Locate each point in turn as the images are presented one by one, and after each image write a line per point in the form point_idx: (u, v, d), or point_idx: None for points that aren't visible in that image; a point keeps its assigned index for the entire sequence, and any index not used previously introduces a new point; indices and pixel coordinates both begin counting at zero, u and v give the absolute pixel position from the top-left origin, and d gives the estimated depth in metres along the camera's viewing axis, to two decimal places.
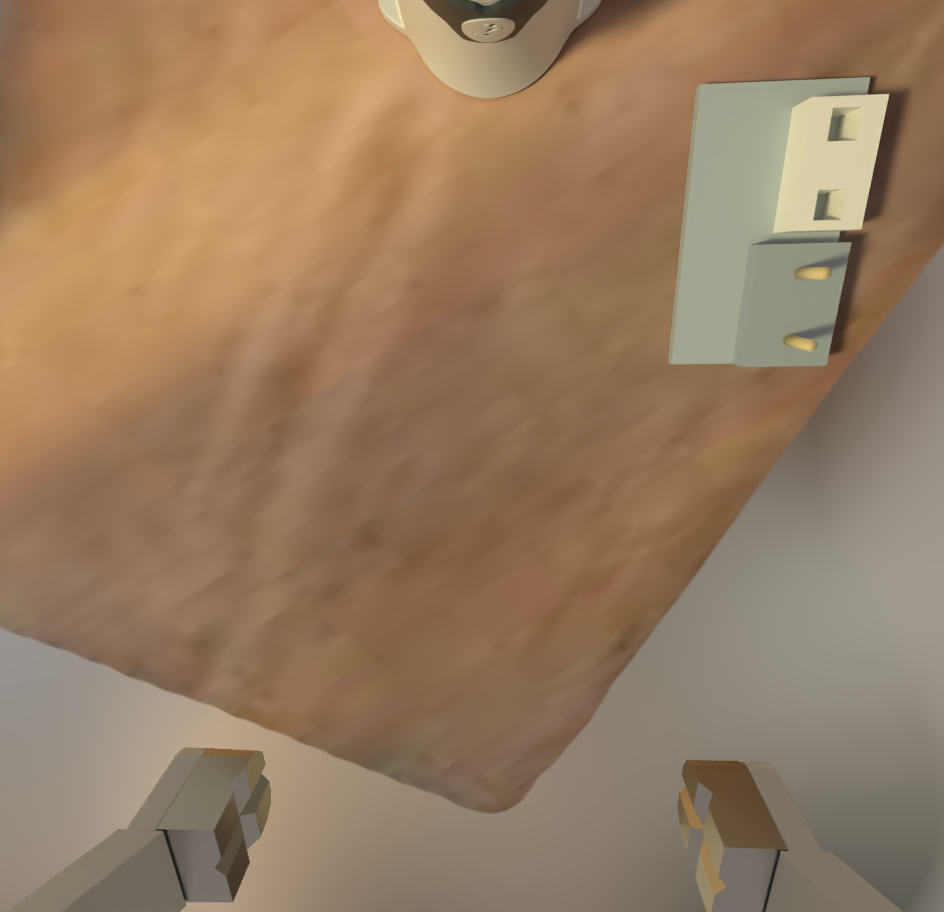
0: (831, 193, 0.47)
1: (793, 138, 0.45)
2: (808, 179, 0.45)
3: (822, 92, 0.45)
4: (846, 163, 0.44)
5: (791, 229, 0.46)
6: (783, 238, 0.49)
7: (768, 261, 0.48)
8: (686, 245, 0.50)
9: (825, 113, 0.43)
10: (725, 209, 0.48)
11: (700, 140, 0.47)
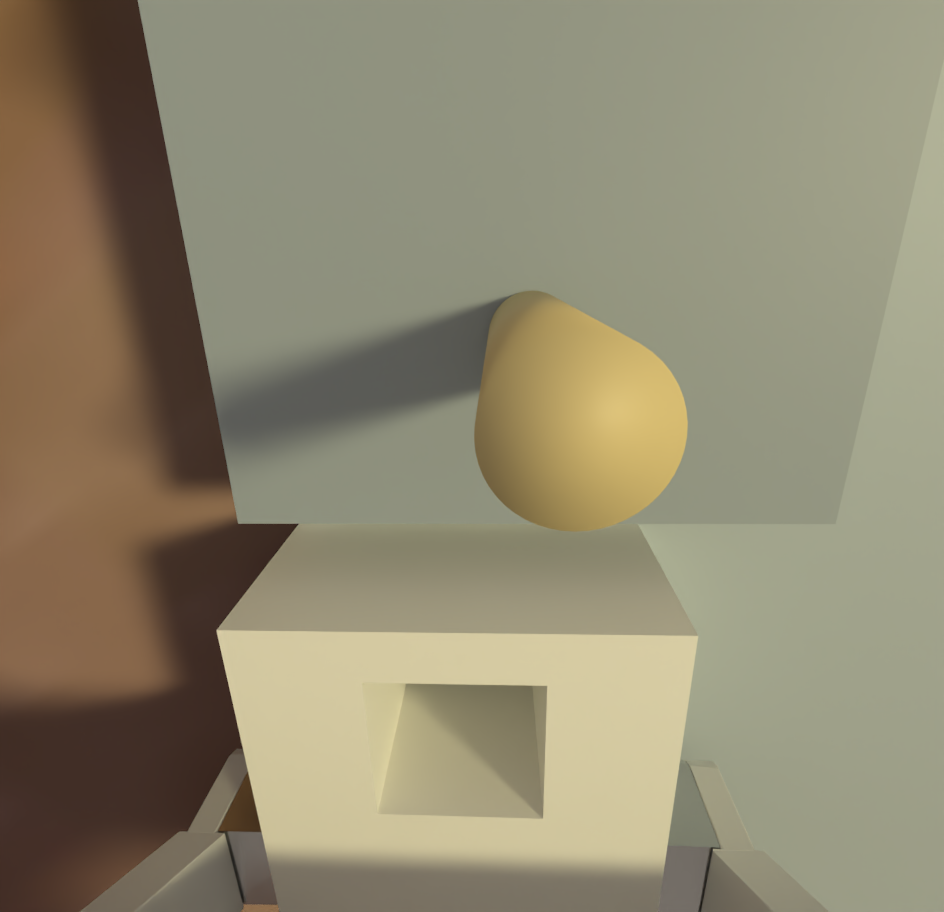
0: (403, 690, 0.10)
1: None
2: (608, 860, 0.08)
3: None
4: (419, 901, 0.08)
5: (687, 645, 0.06)
6: None
7: (772, 418, 0.06)
8: None
9: None
10: (880, 627, 0.10)
11: None
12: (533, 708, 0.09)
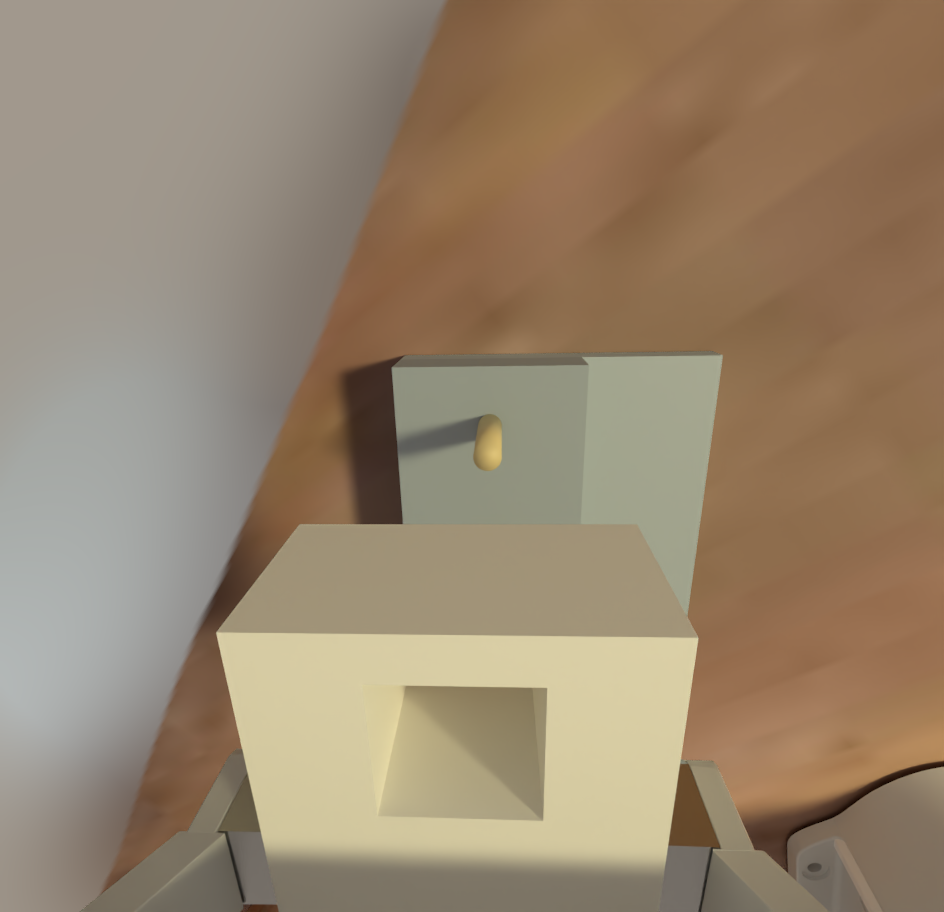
0: (403, 692, 0.10)
1: None
2: (608, 862, 0.08)
3: None
4: (419, 904, 0.08)
5: (687, 647, 0.06)
6: None
7: None
8: (687, 579, 0.26)
9: None
10: None
11: None
12: (533, 710, 0.09)
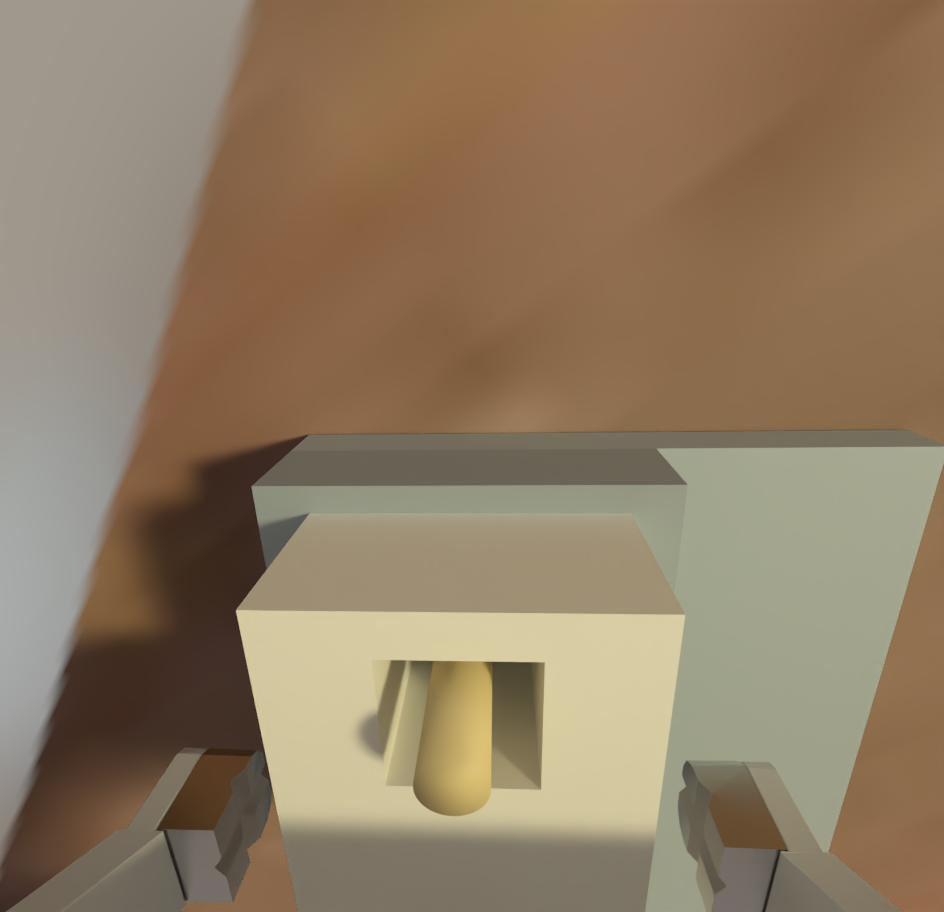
0: (408, 673, 0.10)
1: None
2: (602, 829, 0.08)
3: None
4: (424, 870, 0.09)
5: (675, 623, 0.07)
6: None
7: None
8: (827, 823, 0.15)
9: None
10: None
11: None
12: (532, 690, 0.10)
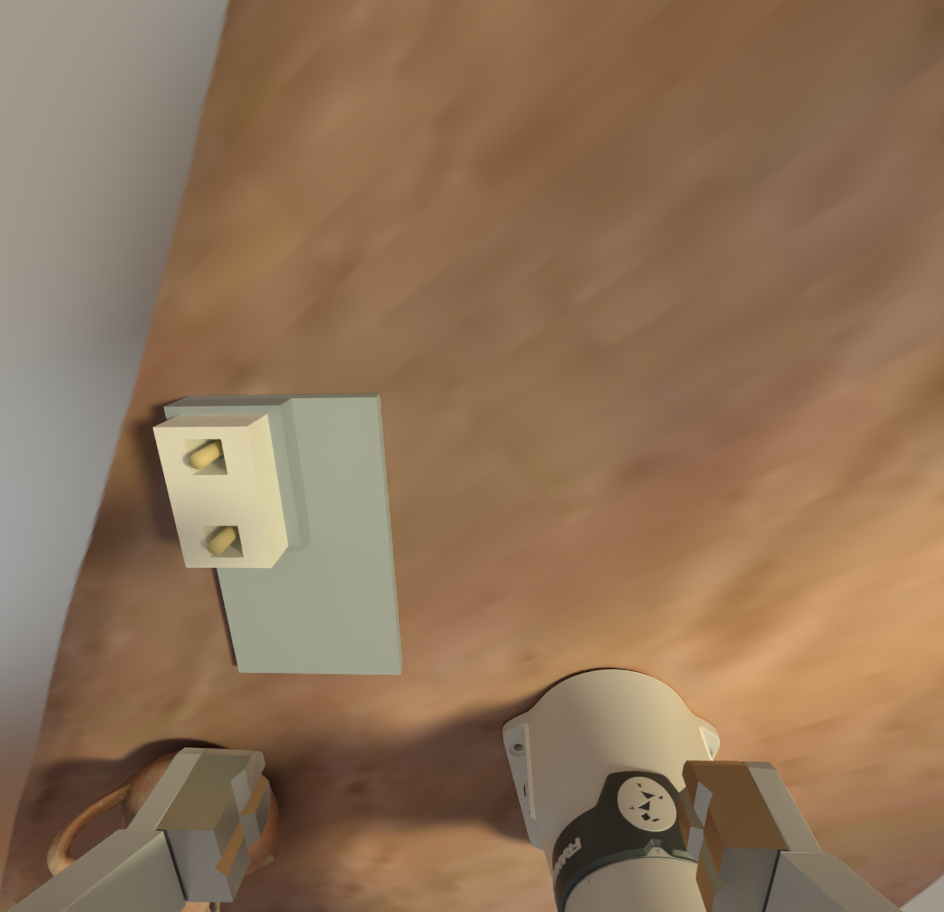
0: None
1: (277, 521, 0.37)
2: (244, 486, 0.34)
3: (279, 663, 0.45)
4: (204, 502, 0.34)
5: (245, 428, 0.32)
6: None
7: None
8: (385, 539, 0.40)
9: (250, 552, 0.35)
10: (348, 573, 0.42)
11: (390, 633, 0.43)
12: None
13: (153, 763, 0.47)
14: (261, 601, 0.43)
